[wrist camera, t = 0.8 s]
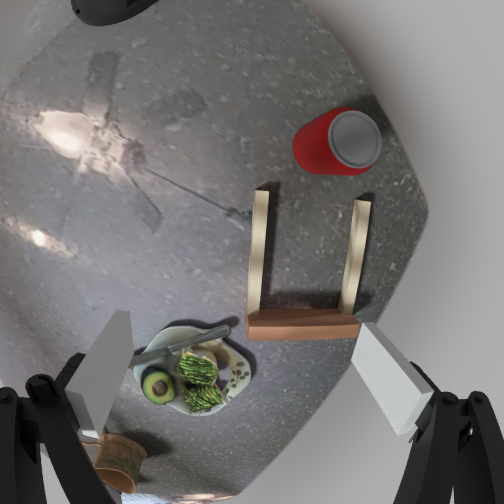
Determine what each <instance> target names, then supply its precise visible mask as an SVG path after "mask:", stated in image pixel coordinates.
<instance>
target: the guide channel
mask: <svg viewBox="0 0 504 504" xmlns="http://www.w3.org/2000/svg"><path fill="white" fill-rule="evenodd" d="M268 198H269V191H265V190H255V191H254V205H253V219H252V233H251V247H250V261H249V276H248V290H247V304H246V318H245V323H246V330H247V337H248V340H311V339H333V338H349V337H357V335H358V331H359V327H360V324H359V322H358V321H357V320H356V319H355V318H354V317H353V315H352V311H353V307H354V302H355V298H356V293H357V288H358V283H359V277H360V272H361V267H362V261H363V255H364V249H365V242H366V236H367V229H368V221H369V214H370V205H371V202H368V201H364V200H356V199H354V209H353V217H352V225H351V233H350V240H349V247H348V253H347V260H346V266H345V272H344V278H343V283H342V289H341V294H340V299H339V305H338V309H259V306H260V295H261V283H262V272H263V260H264V248H265V236H266V224H267V211H268Z"/></svg>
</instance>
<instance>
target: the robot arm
mask: <svg viewBox="0 0 504 504" xmlns="http://www.w3.org/2000/svg"><path fill="white" fill-rule="evenodd" d="M154 1H155V0H71V5H72V9H73V12H74V13H75V15H76V16H77V17H78V18H79V19H80V20H81V21H82V22H84V23H85V24H88V25H92V26H106V25H111V24H115V23H118V22H121V21H124V20H126V19H128V18H130V17H132V16H134V15H136V14H138V13H140V12H141V11H143V10H144V9H146V8H147V7H148V6H150V5H151V4H152V3H153V2H154ZM133 355H134V347H133V339H132V330H131V320H130V312H129V311H121V310H116V312H115V313H114V315H113V316H112V317H111V319H110V320H109V322H108V323H107V325H106V326H105V328H104V329H103V330H102V332H101V333H100V335H99V336H98V338H97V339H96V341H95V342H94V344H93V345H92V347H91V348H90V350H89V351H88V353H87V354H82V353H77V354H75V355H74V356H72V357H71V358H70V359H69V360H68V362H67V363H66V366H64V368H63V369H62V371H61V372H60V373H59V375H58V376H57V378H56V379H55V381H54V380H53V378H52V377H50V376H49V375H45V374H37V375H34V376H32V377H31V378H29V379H28V380H27V382H26V386H25V388H26V391H27V393H28V395H29V397H30V398H24V397H18V395H17V393H16V391H15V390H14V389H12V388H10V387H2V388H0V504H47V501H46V495H45V489H44V482H43V475H42V466H41V455H40V443H44V444H45V447H46V449H47V452H48V455H49V458H50V460H51V463H52V465H53V467H54V470H55V472H56V475H57V477H58V479H59V481H60V484H61V486H62V488H63V490H64V492H65V494H66V496H67V498H68V500H69V502H70V504H117V503H116V502H115V500H114V499H113V497H112V496H111V494H110V493H109V491H108V489H107V488H106V486H105V485H104V483H103V481H102V480H101V478H100V476H99V475H98V473H97V471H96V469H95V468H94V466H93V464H92V462H91V460H90V458H89V456H88V455H87V453H86V451H85V449H84V447H83V445H82V443H81V441H80V439H79V436H78V434H77V432H78V430H79V428H81V430H82V432H83V434H84V435H87V436H90V437H94V438H98V439H100V436H101V434H102V431H103V428H104V426H105V423H106V420H107V418H108V415H109V412H110V410H111V407H112V405H113V402H114V400H115V397H116V395H117V392H118V390H119V387H120V385H121V383H122V380H123V378H124V375H125V373H126V371H127V368H128V366H129V364H130V361H131V359H132V357H133ZM351 361H352V362H353V364H354V366H355V367H356V369H357V370H358V372H359V374H360V375H361V377H362V378H363V380H364V382H365V383H366V385H367V386H368V388H369V390H370V391H371V393H372V394H373V396H374V398H375V399H376V401H377V402H378V404H379V406H380V407H381V409H382V410H383V412H384V414H385V415H386V417H387V419H388V420H389V422H390V423H391V425H392V427H393V429H394V430H395V432H396V434H397V435H400V434H404V433H407V432H410V430H411V429H412V427H413V426H414V424H416V425H417V427H418V429H417V430H416V432H415V433H414V435H413V436H412V438H411V439H410V441H409V443H411V441H412V440H413V443H412V447H411V451H410V454H409V458H408V461H407V465H406V468H405V471H404V475H403V477H402V480H401V483H400V486H399V489H398V492H397V495H396V497H395V500H394V503H393V504H449V503H450V498H451V494H452V488H454V489H453V490H454V504H504V439H503V436H502V433H501V430H500V427H499V425H498V422H497V419H496V416H495V414H494V411H493V408H492V406H491V403H490V401H489V399H488V397H487V396H486V395H485V394H484V393H482V392H479V391H473V392H471V394H470V395H469V397H468V399H458V398H457V396H456V395H454V394H452V393H450V392H441V391H440V390H439V389H438V387H437V386H436V385H435V384H434V383H433V382H432V381H431V379H430V378H428V376H427V375H426V374H425V373H424V372H423V371H422V369H421V368H420V367H419V366H418V365H416V364H414V363H413V362H409V361H408V360H407V359H406V358H405V357H404V356H403V354H402V353H401V352H400V351H399V350H398V349H397V348H396V347H395V345H394V344H393V343H392V342H391V341H390V340H389V339H388V338H387V337H386V335H385V334H384V333H383V332H382V331H381V330H380V329H379V328H378V327H377V326H376V324H375V323H374V322H368V323H363V324H362V327H361V330H360V334H359V337H358V340H357V344H356V347H355V350H354V353H353V356H352V359H351ZM471 429H473V432H472V434H470V430H471Z"/></svg>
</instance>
